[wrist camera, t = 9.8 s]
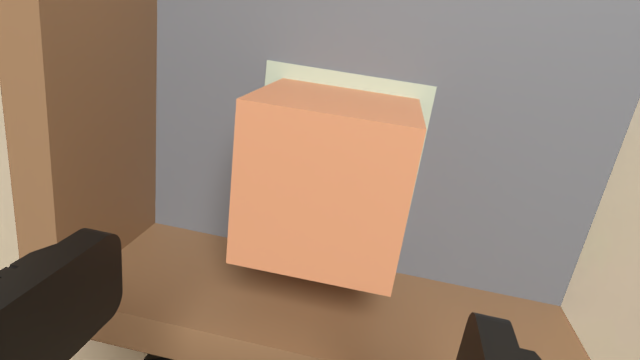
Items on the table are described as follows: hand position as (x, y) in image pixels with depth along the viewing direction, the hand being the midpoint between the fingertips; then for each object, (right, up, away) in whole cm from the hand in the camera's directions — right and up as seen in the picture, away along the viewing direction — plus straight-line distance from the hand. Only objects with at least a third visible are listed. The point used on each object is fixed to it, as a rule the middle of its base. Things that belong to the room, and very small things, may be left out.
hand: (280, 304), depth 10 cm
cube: (+2, +4, +10) cm, 11 cm away
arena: (+3, +6, +11) cm, 13 cm away
